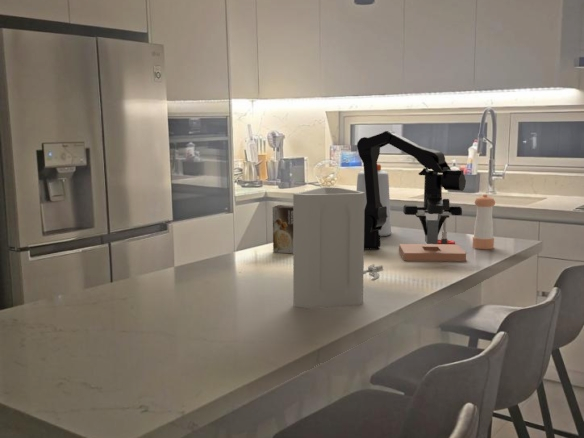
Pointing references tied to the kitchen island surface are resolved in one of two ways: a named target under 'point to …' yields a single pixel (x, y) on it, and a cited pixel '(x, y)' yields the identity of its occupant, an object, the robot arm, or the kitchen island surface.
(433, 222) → the dark gray brick
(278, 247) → the coffee box
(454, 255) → the tan flat board
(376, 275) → the pliers
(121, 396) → the kitchen island surface
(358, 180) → the plastic bottle
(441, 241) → the tow hook
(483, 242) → the pepper shaker
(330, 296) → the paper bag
